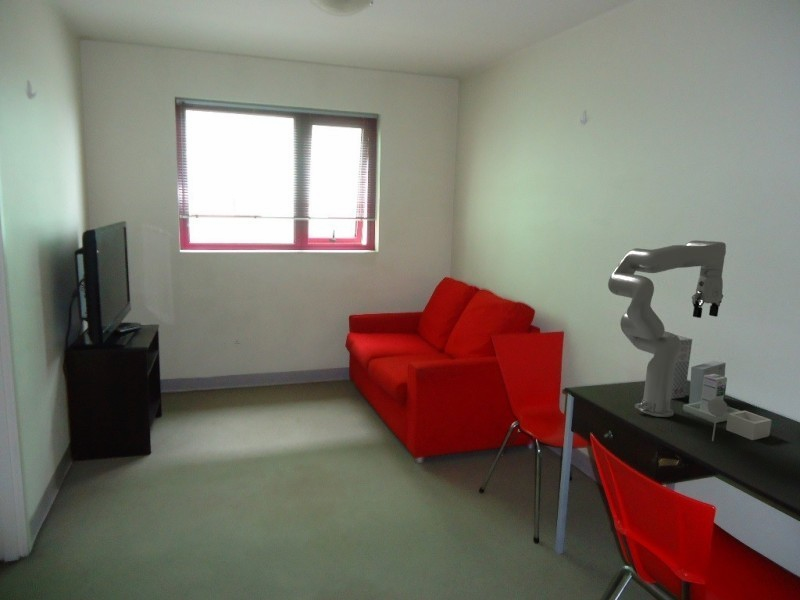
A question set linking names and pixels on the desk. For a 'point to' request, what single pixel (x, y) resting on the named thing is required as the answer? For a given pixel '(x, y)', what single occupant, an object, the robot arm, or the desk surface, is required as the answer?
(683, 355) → the box
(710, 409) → the lollipop
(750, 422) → the white open storage bin
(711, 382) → the syrup box
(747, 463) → the desk surface
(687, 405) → the tray
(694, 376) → the skincare box
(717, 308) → the robot arm
